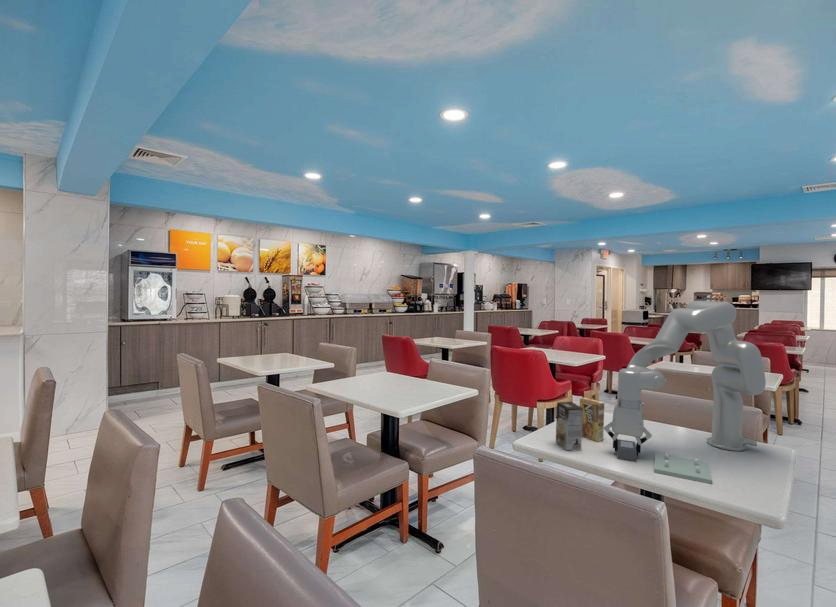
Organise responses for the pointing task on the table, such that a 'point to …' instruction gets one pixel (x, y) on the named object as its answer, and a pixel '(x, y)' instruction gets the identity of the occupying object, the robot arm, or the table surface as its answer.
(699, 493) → the table surface
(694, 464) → the pin tray
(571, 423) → the coffee box
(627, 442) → the block
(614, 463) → the table surface
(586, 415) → the candy box
